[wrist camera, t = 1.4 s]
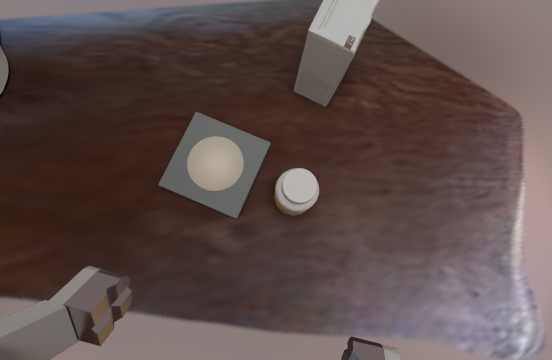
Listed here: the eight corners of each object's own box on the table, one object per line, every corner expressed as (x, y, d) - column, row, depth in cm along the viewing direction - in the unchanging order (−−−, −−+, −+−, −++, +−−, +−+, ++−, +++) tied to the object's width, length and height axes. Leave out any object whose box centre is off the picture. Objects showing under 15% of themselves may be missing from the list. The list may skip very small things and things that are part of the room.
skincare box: (313, 52, 47) (336, -32, 32) (347, 67, 47) (385, -10, 32) (291, 94, 45) (305, 27, 31) (326, 111, 45) (357, 50, 31)
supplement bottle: (294, 171, 43) (303, 152, 33) (318, 199, 42) (334, 188, 33) (266, 194, 42) (266, 182, 33) (290, 223, 41) (298, 219, 32)
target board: (161, 186, 42) (157, 184, 40) (197, 115, 44) (195, 111, 43) (237, 219, 41) (236, 218, 40) (270, 145, 44) (270, 142, 42)
